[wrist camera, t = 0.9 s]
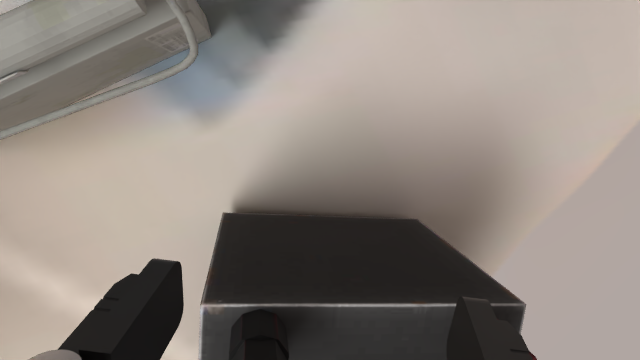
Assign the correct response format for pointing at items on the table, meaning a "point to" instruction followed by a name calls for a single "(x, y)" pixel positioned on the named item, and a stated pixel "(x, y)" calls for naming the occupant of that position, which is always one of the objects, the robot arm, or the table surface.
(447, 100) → the table surface
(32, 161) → the table surface
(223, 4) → the table surface
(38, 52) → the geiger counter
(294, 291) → the voltmeter
